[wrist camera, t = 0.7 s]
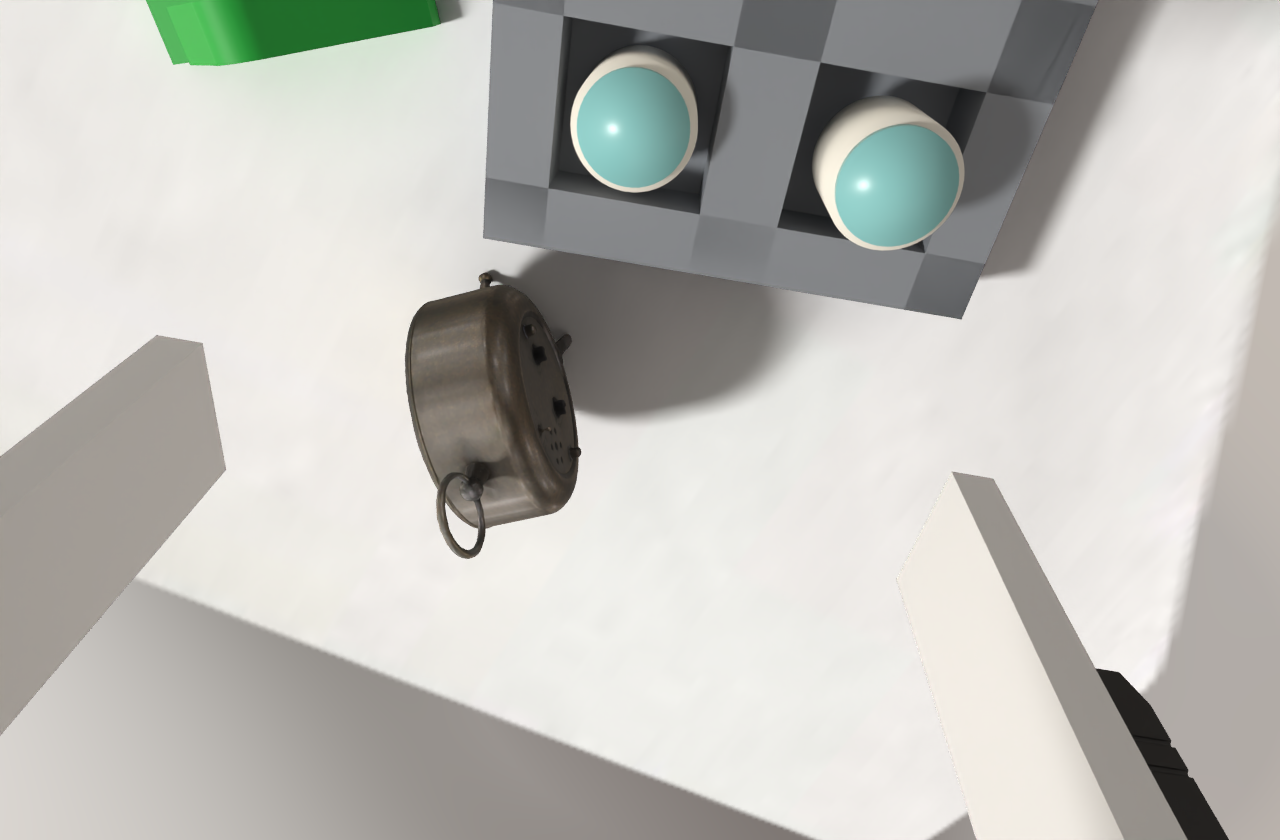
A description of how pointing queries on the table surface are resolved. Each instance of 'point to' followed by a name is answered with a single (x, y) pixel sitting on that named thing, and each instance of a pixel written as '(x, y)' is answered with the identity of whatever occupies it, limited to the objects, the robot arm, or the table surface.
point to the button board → (774, 132)
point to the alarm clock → (491, 409)
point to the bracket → (278, 26)
